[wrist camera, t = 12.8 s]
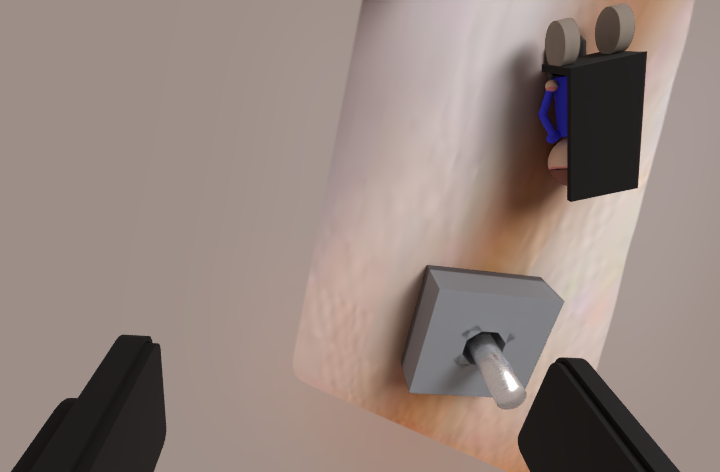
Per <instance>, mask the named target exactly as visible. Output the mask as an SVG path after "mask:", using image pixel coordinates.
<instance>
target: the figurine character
mask: <svg viewBox="0 0 720 472" xmlns="http://www.w3.org/2000/svg"><path fill="white" fill-rule="evenodd" d="M634 31H635V17H634V13H633V11H632V9H631V7H630V6H629V5H627V4H619V5H614V6H610V7H606V8H605V9H603V10H602V12H601V13H600V15H599V17H598V19H597V23H596V28H595V40H596V45H597V48H598V50H599V51H600V52H598V53H593V54H589V55H586V41H585V40H584V39H583V38H582V37H581V36H580V32H579V28H578V25H577V23H576V21H575V20H574V19H572V18H566V19H562V20H557V21H553V22H552V23H551V24H550V25H549V27H548V30H547V33H546V39H545V52H546V57H547V64H543V65H542V72H547V73H548V77H549V78H550V81H548V82H547V83H546V85H545V89H546V92H545V95H544V98H543V101H542V105H541V108H540V111H539V114H538V116H539V118H540V120H541V122H542V124H543V126H544V128H545V129H546V131H547V133H548V135H547V138H546V140H547V142H548V143H555V142H557V141H558V140H559V139H560V138H561V137H567V138H565V139H563V140H561V141H560V142H558V143H557V144H556V145H555V146H554V147H553V149H552V150H551V152H550V155H549V158H548V168H549V171H550V174H551V175H552V177H553V178H554V179H555V180H556V181H558V182H559V183H561V184H563V185H566V186H567V200H569V201H570V202H572V201H577V200H582V199H587V198H592V197H596V196H601V195H606V194H611V193H616V192H620V191H625V190H630V189H635V188H638V177H639V162H640V147H641V132H642V117H643V103H644V88H645V73H646V58H647V52H632V51H625V50H626V49H627V48H628V47H629V45H630V44H631V42H632V39H633V36H634ZM555 76H558V77H555ZM553 79H554V80H553ZM553 93H554V94H555V109H556V125H557V131H555V129H554V127H553V125H552V123H551V121H550V119H549V117H548V116H547V112H548V109H549V105H550V102H551V99H552V96H553Z"/></svg>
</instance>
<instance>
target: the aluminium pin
mask: <svg viewBox="0 0 720 472" xmlns="http://www.w3.org/2000/svg"><path fill="white" fill-rule="evenodd" d="M466 345H467V347H468V349H469V351H470V353H471V355H472V357H473V359H474V361H475V363H476V365H477V367H478V369H479V371H480V373H481V375H482V377H483V379H484V381H485V383H486V385H487V387H488V389H489V391H490V392H491V394H492V396H493V398H494V400H495V402H496V404H497V406H498V407H500V408H502V409H513V408H516V407H518V406H519V405H521V404H522V403H523V402H524V400H525V399H526V391H525V389H524V388H523V386H522V384H521V383H520V381H519V379H518V378H517V376H516V375H515V373H514V371H513V370H512V368H511V366H510V365H509V363H508V362H507V360H506V358H505V357H504V355H503V353H502V352H501V350H500V349H499V347H498V345H497V344H496V342H495V340H494V339H493V337H492V335H491V334H490V332H485V331H482V332H480V333H478V334H477V335H475V336H473V337H472V338H470V339H468V340H467V341H466Z"/></svg>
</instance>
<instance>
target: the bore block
mask: <svg viewBox="0 0 720 472" xmlns="http://www.w3.org/2000/svg"><path fill="white" fill-rule="evenodd" d="M563 303H564V300H563V299H562V298H561V297H560V296H559V295H558V294H557V293H556V292H555V291H554V290H553V289H552V288H551V287H550V286H549V285H548V284H547V283H546V282H545V281H544V280H543V279H542V278H541V277H533V276H524V275H515V274H506V273H496V272H487V271H478V270H468V269H459V268H450V267H441V266H431V265H427V268H426V272H425V275H424V279H423V283H422V286H421V290H420V293H419V297H418V301H417V304H416V308H415V312H414V315H413V319H412V323H411V326H410V330H409V334H408V337H407V341H406V345H405V348H404V352H403V356H402V359H401V365H402V369H403V372H404V376H405V380H406V383H407V387H408V391H409V393H422V394H440V395H459V396H478V397H493V396H492V394H491V392H490V391H489V389H488V387H487V385H486V383H485V381H484V379H483V377H482V375H481V373H480V371H479V369H478V367H477V365H476V363H475V361H474V359H473V357H472V355H471V353H470V351H469V349H468V347H467V345H466V341H467V340H468V339H470V338H472V337H473V336H475V335H477V334H478V333H480V332H482V331H485V332H490V334H491V335H492V337H493V339H494V340H495V342H496V344H497V345H498V347H499V349H500V350H501V352H502V353H503V355H504V357H505V358H506V360H507V362H508V363H509V365H510V366H511V368H512V370H513V371H514V373H515V375H516V376H517V378H518V379H519V381H520V383H521V384H522V386H523V388H524V389H526V386H527V384H528V382H529V380H530V377H531V375H532V373H533V371H534V368H535V366H536V364H537V362H538V360H539V357H540V355H541V353H542V351H543V348H544V346H545V344H546V342H547V339H548V337H549V335H550V333H551V330H552V328H553V326H554V324H555V321H556V319H557V317H558V315H559V312H560V310H561V308H562V306H563Z"/></svg>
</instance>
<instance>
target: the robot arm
mask: <svg viewBox="0 0 720 472" xmlns="http://www.w3.org/2000/svg"><path fill="white" fill-rule="evenodd" d="M165 436H166V418H165V404H164V391H163V377H162V364H161V349H160V345H159V344H158V343H157V344H156V343H152V339H151V337H150V336H136V335H121V336H119V337H118V339H117V340H116V341H115V343H114V344H113V346H112V347H111V349H110V350H109V352H108V353H107V355H106V356H105V358H104V359H103V361H102V362H101V364H100V365H99V367H98V368H97V370H96V371H95V373H94V374H93V376H92V377H91V379H90V380H89V382H88V384H87V385H86V386H85V388H84V390H83V391H82V393H81V394H80V396H79V397H78V398H67V399H65V400H64V401H62V402H61V403H60V404H59V405H58V406H57V408H56V409H55V410H54V411H53V413H52V414H51V416H50V417H49V419H48V420H47V421H46V423H45V424H44V426H43V427H42V428H41V430H40V431H39V433H38V434H37V436H36V437H35V439H34V440H33V442H32V443H31V444H30V446H29V447H28V448H27V450H26V451H25V453H24V454H23V455H22V457H21V458H20V460H19V461H18V463H17V464H16V466H15V467H14V468H13V470H12V471H11V472H154V469H155V466H156V463H157V461H158V458H159V456H160V453H161V450H162V448H163V445H164V441H165ZM518 446H519V450H520V452H521V454H522V456H523V458H524V460H525V462H526V464H527V466H528V468H529V470H530V472H680V471H679V470H678V469H677V468H676V466H675V465H674V464H673V463H672V462H671V461H670V459H669V458H668V457H667V456H666V454H665V453H664V452H663V451H662V450H661V449H660V447H659V446H658V445H657V444H656V442H655V441H654V440H653V439H652V438H651V437H650V435H649V434H648V433H647V432H646V431H645V429H644V428H643V427H642V426H641V425H640V423H639V422H638V421H637V420H636V419H635V417H634V416H633V415H632V414H631V413H630V412H629V410H628V409H627V408H626V407H625V406H624V404H623V403H622V402H621V401H620V400H619V398H618V397H617V396H616V395H615V394H614V392H613V391H612V390H611V389H610V388H609V387H608V385H607V384H606V383H605V382H604V381H603V380H602V378H601V377H600V376H599V375H598V374H597V372H596V371H595V370H594V369H593V367H592V366H591V365H590V364H589V363H588V362H587V361H586V360H584V359H582V358H558V359H557V360H556V361H555V363H552V364H551V365H550V367H549V369H548V371H547V373H546V375H545V377H544V380H543V382H542V384H541V386H540V389H539V391H538V393H537V395H536V397H535V400H534V402H533V404H532V406H531V409H530V411H529V413H528V415H527V418H526V420H525V422H524V424H523V426H522V429H521V431H520V433H519V436H518Z"/></svg>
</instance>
